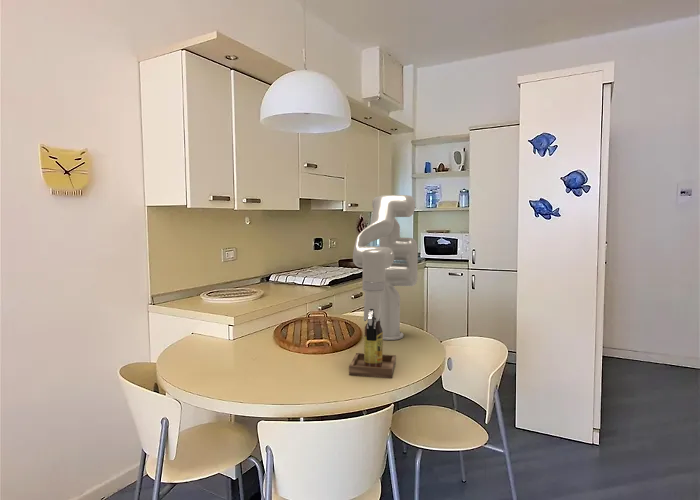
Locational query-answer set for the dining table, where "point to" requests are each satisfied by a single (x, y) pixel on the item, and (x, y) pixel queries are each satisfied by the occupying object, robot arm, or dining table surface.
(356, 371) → the tray
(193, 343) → the dining table surface
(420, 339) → the dining table surface
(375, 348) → the sauce bottle
